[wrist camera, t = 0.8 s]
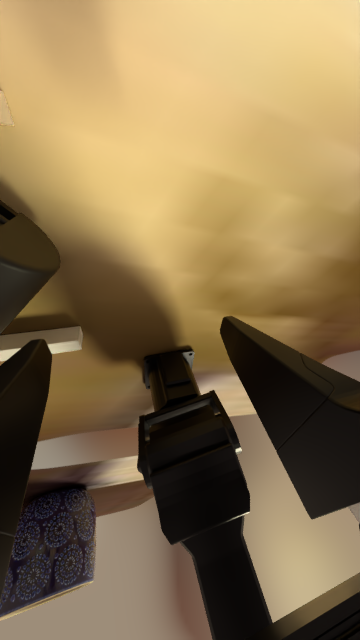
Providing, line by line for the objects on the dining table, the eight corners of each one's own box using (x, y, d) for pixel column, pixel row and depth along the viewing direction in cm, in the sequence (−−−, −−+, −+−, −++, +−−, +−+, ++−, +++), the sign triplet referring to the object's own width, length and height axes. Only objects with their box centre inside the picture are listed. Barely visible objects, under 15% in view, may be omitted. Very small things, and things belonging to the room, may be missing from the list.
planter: (44, 482, 40) (19, 609, 28) (111, 480, 50) (113, 573, 39) (-1, 513, 43) (-38, 636, 32) (70, 506, 54) (61, 597, 43)
